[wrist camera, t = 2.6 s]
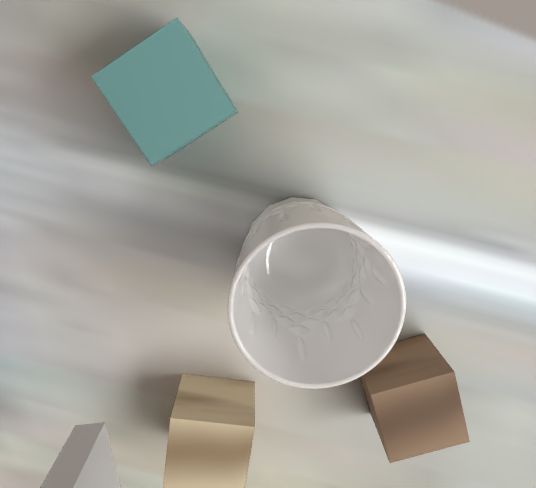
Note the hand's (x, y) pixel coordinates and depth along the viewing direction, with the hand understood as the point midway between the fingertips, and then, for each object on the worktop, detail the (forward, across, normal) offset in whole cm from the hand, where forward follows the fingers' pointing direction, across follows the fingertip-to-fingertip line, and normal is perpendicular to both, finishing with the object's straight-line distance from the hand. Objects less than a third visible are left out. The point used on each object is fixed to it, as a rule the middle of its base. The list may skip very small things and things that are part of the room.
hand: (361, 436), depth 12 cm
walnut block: (+19, -6, +10) cm, 22 cm away
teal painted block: (+19, +6, -10) cm, 22 cm away
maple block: (+19, +7, +11) cm, 23 cm away
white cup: (+19, 0, 0) cm, 19 cm away
